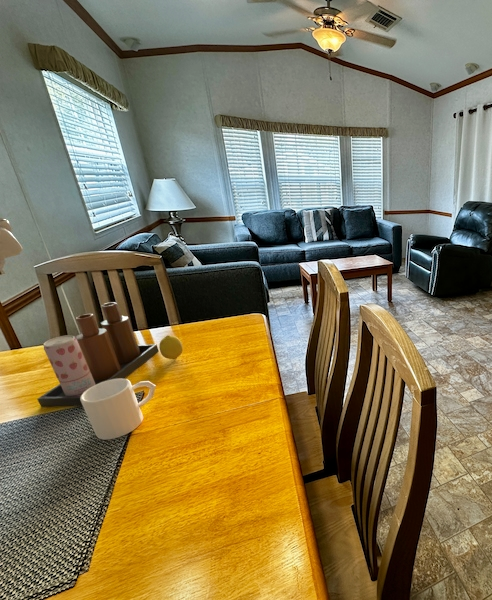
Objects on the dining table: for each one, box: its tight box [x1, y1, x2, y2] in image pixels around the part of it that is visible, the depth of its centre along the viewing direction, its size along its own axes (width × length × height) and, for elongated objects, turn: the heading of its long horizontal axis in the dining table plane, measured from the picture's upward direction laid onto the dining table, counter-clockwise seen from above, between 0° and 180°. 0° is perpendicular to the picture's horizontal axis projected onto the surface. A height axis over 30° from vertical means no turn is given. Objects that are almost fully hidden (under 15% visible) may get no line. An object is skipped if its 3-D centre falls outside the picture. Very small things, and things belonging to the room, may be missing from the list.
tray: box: [36, 343, 160, 408], centre depth 89 cm, size 25×11×2 cm, turn 2°
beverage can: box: [42, 334, 96, 396], centre depth 79 cm, size 6×6×15 cm
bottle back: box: [100, 301, 141, 364], centre depth 94 cm, size 6×6×18 cm
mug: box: [80, 378, 157, 441], centre depth 71 cm, size 8×12×10 cm, turn 131°
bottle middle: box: [75, 313, 121, 381], centre depth 86 cm, size 6×6×18 cm
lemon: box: [158, 334, 184, 361], centre depth 96 cm, size 6×6×8 cm
